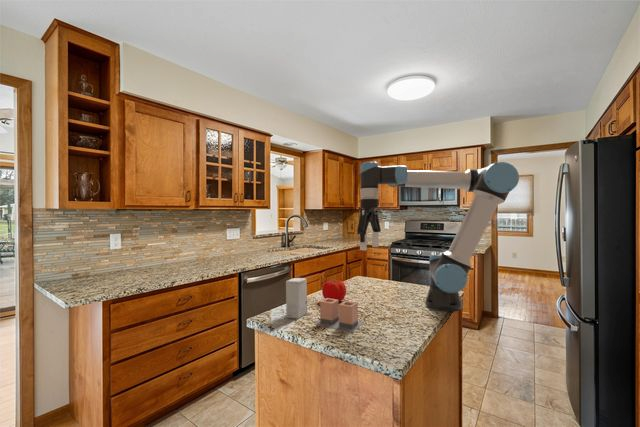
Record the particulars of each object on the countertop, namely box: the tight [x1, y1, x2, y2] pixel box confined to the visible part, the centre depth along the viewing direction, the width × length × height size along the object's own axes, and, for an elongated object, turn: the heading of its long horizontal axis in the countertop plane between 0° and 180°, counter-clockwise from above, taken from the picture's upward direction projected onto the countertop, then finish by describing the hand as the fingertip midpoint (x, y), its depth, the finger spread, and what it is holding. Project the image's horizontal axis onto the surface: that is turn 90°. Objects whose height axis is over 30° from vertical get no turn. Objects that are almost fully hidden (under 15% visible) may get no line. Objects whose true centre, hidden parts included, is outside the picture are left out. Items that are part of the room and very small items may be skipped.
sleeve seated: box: [339, 300, 359, 329], centre depth 114 cm, size 5×5×8 cm
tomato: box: [321, 278, 347, 302], centre depth 146 cm, size 12×12×10 cm
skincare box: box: [285, 277, 308, 320], centre depth 127 cm, size 8×6×15 cm
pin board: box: [313, 319, 365, 334], centre depth 116 cm, size 16×11×6 cm
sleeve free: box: [319, 298, 340, 325], centre depth 118 cm, size 5×5×8 cm
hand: (369, 248), depth 132 cm, fingers open, 13 cm apart
